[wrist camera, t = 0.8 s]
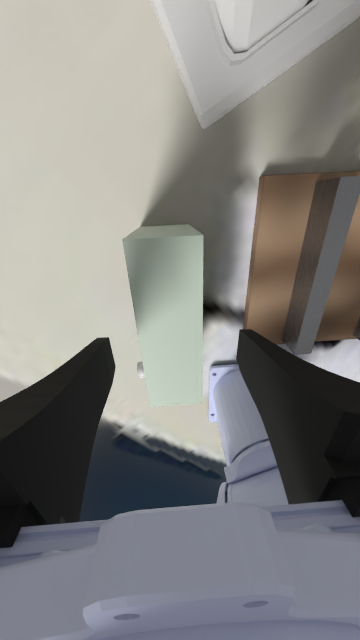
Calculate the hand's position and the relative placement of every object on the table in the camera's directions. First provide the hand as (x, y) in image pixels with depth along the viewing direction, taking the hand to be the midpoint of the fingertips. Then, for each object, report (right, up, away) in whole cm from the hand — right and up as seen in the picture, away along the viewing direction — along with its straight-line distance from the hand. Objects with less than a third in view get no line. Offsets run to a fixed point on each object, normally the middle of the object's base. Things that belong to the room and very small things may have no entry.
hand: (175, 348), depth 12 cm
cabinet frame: (+15, +6, +8) cm, 18 cm away
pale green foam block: (-1, +4, +9) cm, 10 cm away
